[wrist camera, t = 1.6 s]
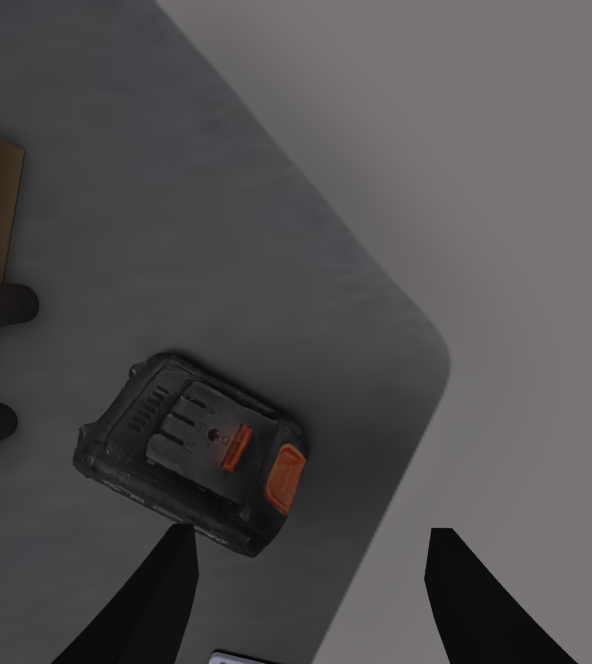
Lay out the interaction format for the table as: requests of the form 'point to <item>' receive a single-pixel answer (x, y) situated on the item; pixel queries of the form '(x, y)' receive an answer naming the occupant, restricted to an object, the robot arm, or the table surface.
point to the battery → (197, 453)
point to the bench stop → (5, 299)
